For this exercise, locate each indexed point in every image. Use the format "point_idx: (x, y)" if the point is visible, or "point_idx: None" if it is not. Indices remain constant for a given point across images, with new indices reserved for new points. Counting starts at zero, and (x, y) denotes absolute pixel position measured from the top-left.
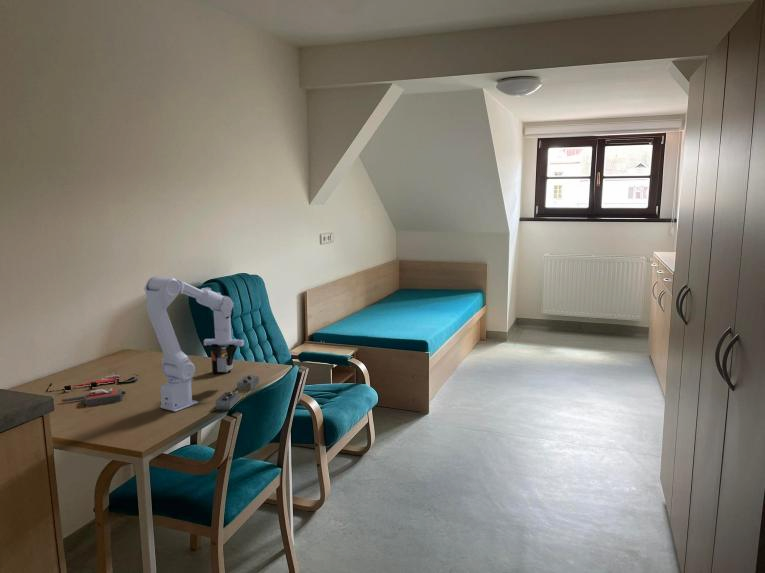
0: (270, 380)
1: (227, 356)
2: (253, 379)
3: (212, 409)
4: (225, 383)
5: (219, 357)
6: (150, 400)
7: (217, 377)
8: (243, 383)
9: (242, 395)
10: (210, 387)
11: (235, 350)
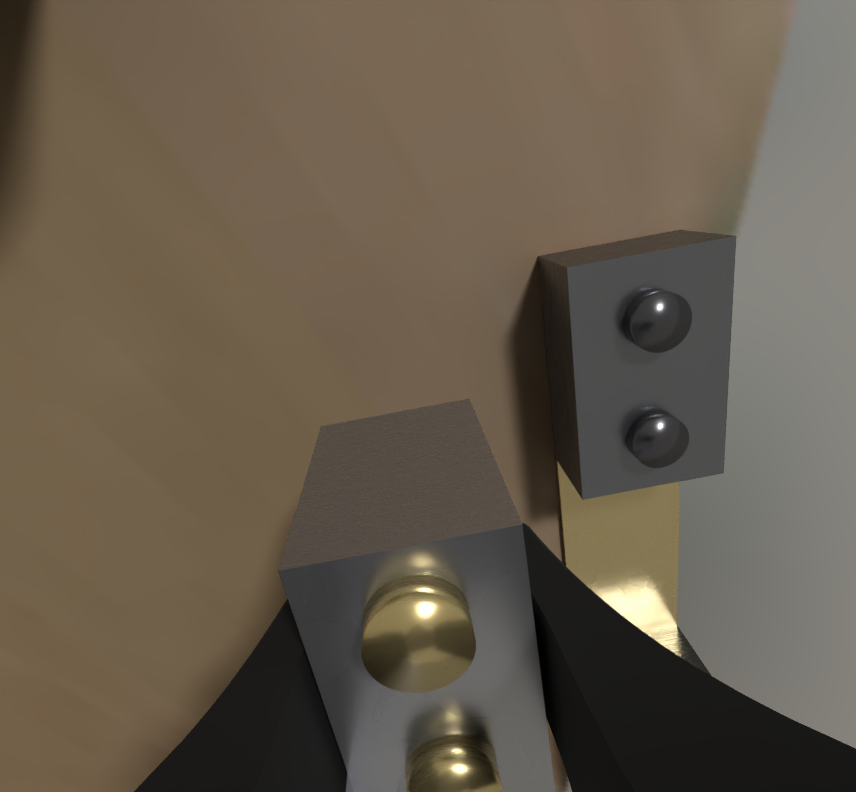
0: (776, 68)
1: (505, 696)
2: (717, 363)
3: (560, 757)
4: (319, 316)
5: (382, 785)
6: (41, 781)
7: (63, 142)
8: (648, 483)
9: (655, 545)
10: (255, 457)
11: (727, 699)
